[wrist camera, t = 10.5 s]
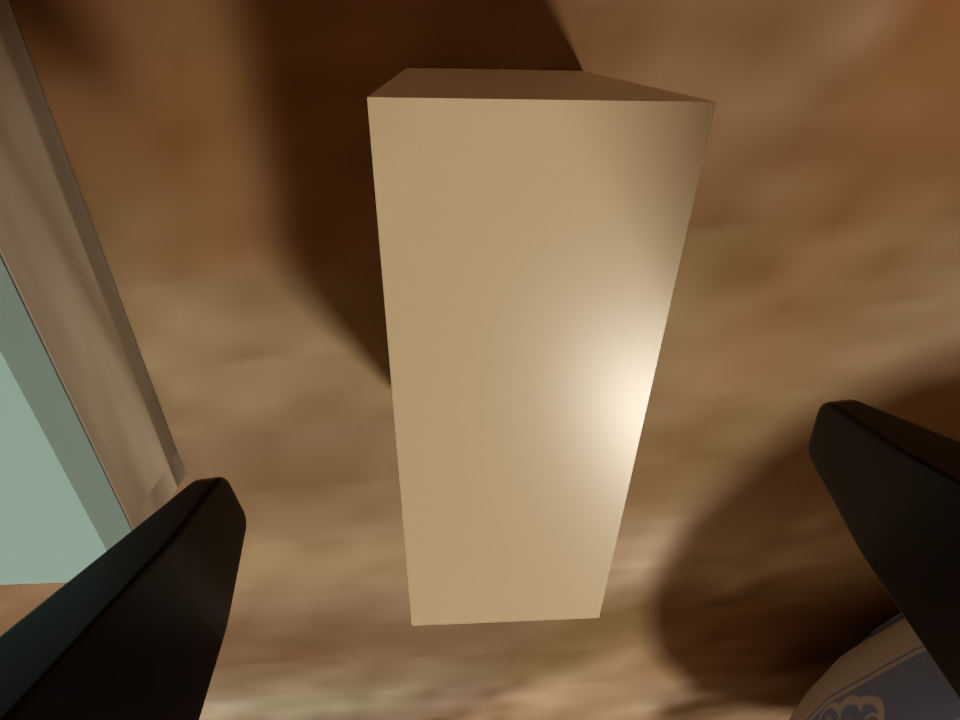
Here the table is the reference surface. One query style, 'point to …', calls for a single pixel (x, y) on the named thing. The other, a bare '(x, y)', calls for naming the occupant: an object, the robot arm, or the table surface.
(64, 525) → the lid
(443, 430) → the tan rectangular block
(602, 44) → the table surface
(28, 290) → the box
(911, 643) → the ramen bowl
